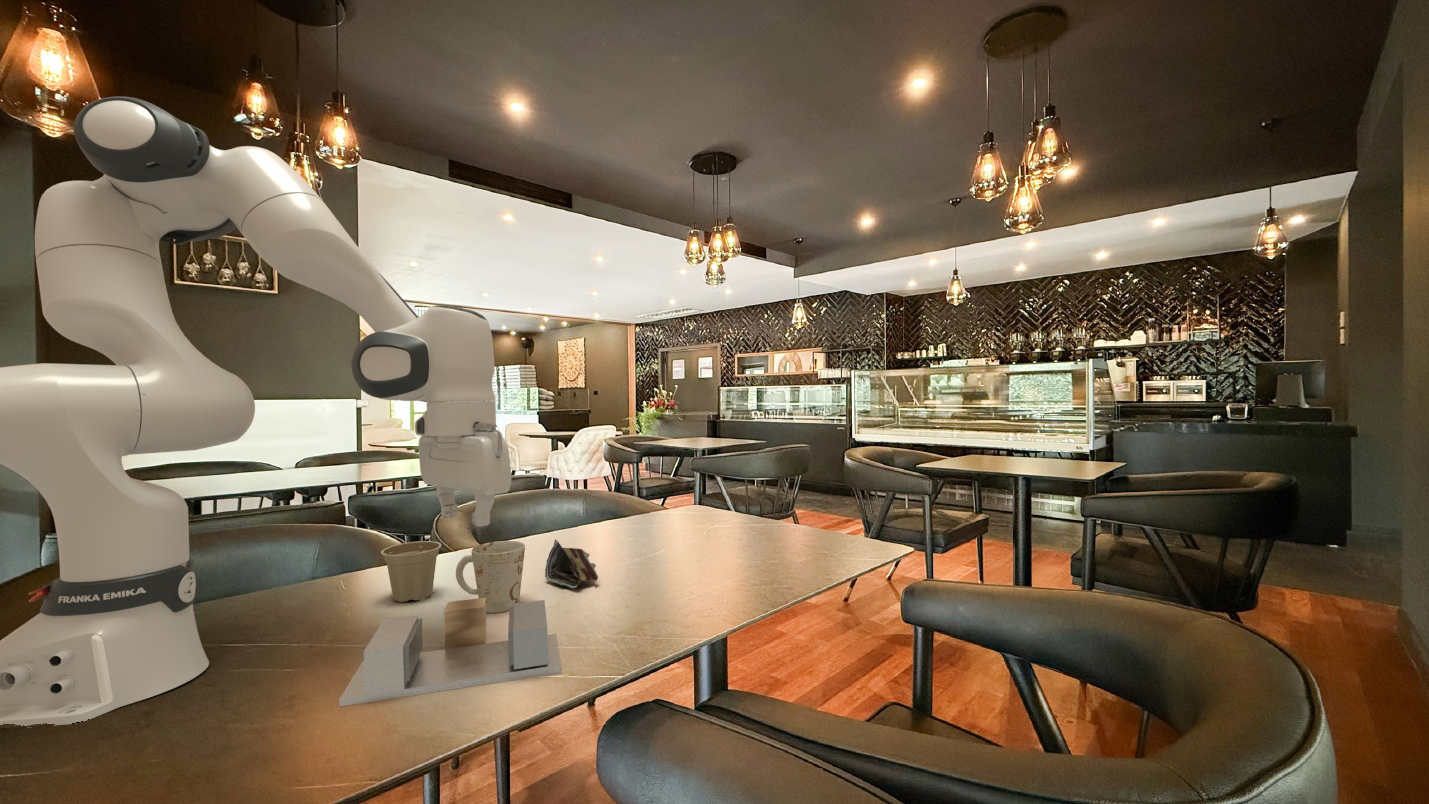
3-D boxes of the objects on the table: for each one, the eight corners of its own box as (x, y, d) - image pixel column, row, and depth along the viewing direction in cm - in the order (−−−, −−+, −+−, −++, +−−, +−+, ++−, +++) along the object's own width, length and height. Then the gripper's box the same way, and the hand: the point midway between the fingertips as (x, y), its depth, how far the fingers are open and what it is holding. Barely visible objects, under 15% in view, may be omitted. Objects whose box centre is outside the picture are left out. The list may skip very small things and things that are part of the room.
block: (445, 655, 78) (444, 611, 78) (448, 644, 81) (447, 601, 81) (484, 650, 79) (484, 607, 79) (486, 638, 83) (485, 597, 83)
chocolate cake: (613, 581, 106) (595, 530, 114) (580, 580, 101) (564, 526, 109) (586, 612, 109) (571, 559, 117) (553, 612, 104) (540, 557, 112)
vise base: (339, 710, 64) (338, 655, 64) (363, 670, 74) (361, 622, 74) (560, 674, 72) (559, 624, 72) (556, 642, 81) (555, 598, 81)
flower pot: (425, 605, 97) (424, 554, 97) (370, 606, 97) (369, 555, 97) (451, 587, 106) (450, 540, 106) (401, 587, 106) (400, 541, 106)
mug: (508, 617, 91) (507, 554, 91) (438, 612, 93) (437, 551, 93) (535, 599, 99) (534, 541, 99) (470, 595, 101) (469, 539, 101)
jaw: (508, 670, 70) (508, 631, 70) (510, 638, 79) (509, 604, 79) (548, 664, 71) (547, 626, 71) (545, 633, 81) (544, 599, 81)
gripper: (522, 421, 76) (525, 526, 76) (452, 421, 89) (455, 509, 89) (475, 424, 71) (478, 535, 71) (409, 422, 84) (412, 516, 84)
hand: (465, 521), depth 80 cm, fingers open, 8 cm apart
